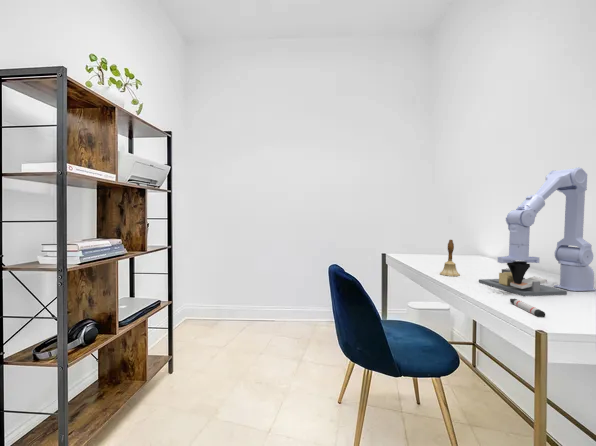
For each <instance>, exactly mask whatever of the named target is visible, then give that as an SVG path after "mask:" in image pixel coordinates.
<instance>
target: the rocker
mask: <svg viewBox="0 0 596 446" xmlns="http://www.w3.org/2000/svg"><path fill="white" fill-rule="evenodd" d="M532 281H540V285H544V284H546V283H549V282H548V279H547V278H544V277H543V278H542V277H538V276H532V277H527V278H525V279H523V280H522V283H521V284H517V283H514V282H511V283H510V286H514V287H517V288H521V289H524V288H527V287H531V286H532Z"/></svg>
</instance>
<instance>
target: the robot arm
mask: <svg viewBox="0 0 596 446" xmlns="http://www.w3.org/2000/svg"><path fill="white" fill-rule="evenodd" d="M587 186H588V173H587V172H586V171H585V169H584V168H582V167H580V166H579V167H575V168H567V169H559V170H550V171H549V172H548V174H547V175H546V176H545V181H544V183H543V184H542V185H541V186H540V187H539V189H538V190H537V191H536V192H535V194H530V195H527V196H526V197H525V199H524V200H523V202H521V204H520V205H518V206H517V208H515V209H513V210H511V211H510V212H508V213H507V215H506V217H505V222H506V224H507V229H508V231H509V237H508V238H509V239H508V240H509V242H508V243H509V245H508V255H506V256H497V263H499V264H505V263H506V265H507V267H508V268H509V269H510V271H511V273H512V276H513V280H514V283H517V284H521V283H522V280H523V278H525V275H526V273H527V271H528V270H529V268H530V267H531V263H534V264H535V263H536V264H540V257H538V256H530V230H531V229H530V228H531V226H533V225H534V224H535V220H536V217H537V214H538V213H540V211H541V210H542V209H543V208H544V207H545V205H546V202H545V201H546V200H547V199H548V198H549V197H551V195H552V194H553V193H554V192H556V191H558V192H559V193H562V194H563V195H564V196H565V209H564V210H565V211H564V230H563V238H561V239H560V240H559V241H557V244H556V248H555V250H554V258H555V260H556V261H558V264H560V269H559V272H560V273H559V275H560V276H559V284H555V285H554V284H553V288H557V289H561V290H565V291H571V292H588V291H591V292H592V291H596V288H594V285H595V284H594V283H595V281H594V280H595V272H594V269H593V268H592V267H591V266H590V264H591V263H593V260H594V253H593V250H592V249H593V248H592V243H590V242H588V241H587V240H586V239H584V225H585V224H584V223H585V221H584V220H585V219H584V218H585V200H586V199H585V198H586V196H585V195H586V191H587V190H588V187H587Z"/></svg>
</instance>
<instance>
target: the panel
mask: <svg viewBox="0 0 596 446" xmlns="http://www.w3.org/2000/svg"><path fill="white" fill-rule="evenodd" d="M523 279H526V277H523ZM478 283H479V284H482V285H486V286H490V287H492V288H495V289H499V290H503V291H505V292H509V293H513V294H515V295H518V296H521V297H537V296H562V295H563V296H566V295H567V294H568V290H566V289H562V288H558V287H554V286H553V287H552V286H548V285H544V284H540V281H532V286H531V287H527V288H524V289H521V288H517V287H514V286H506V285H503V284H499V278H485V279H482V278H481V279H478Z"/></svg>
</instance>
